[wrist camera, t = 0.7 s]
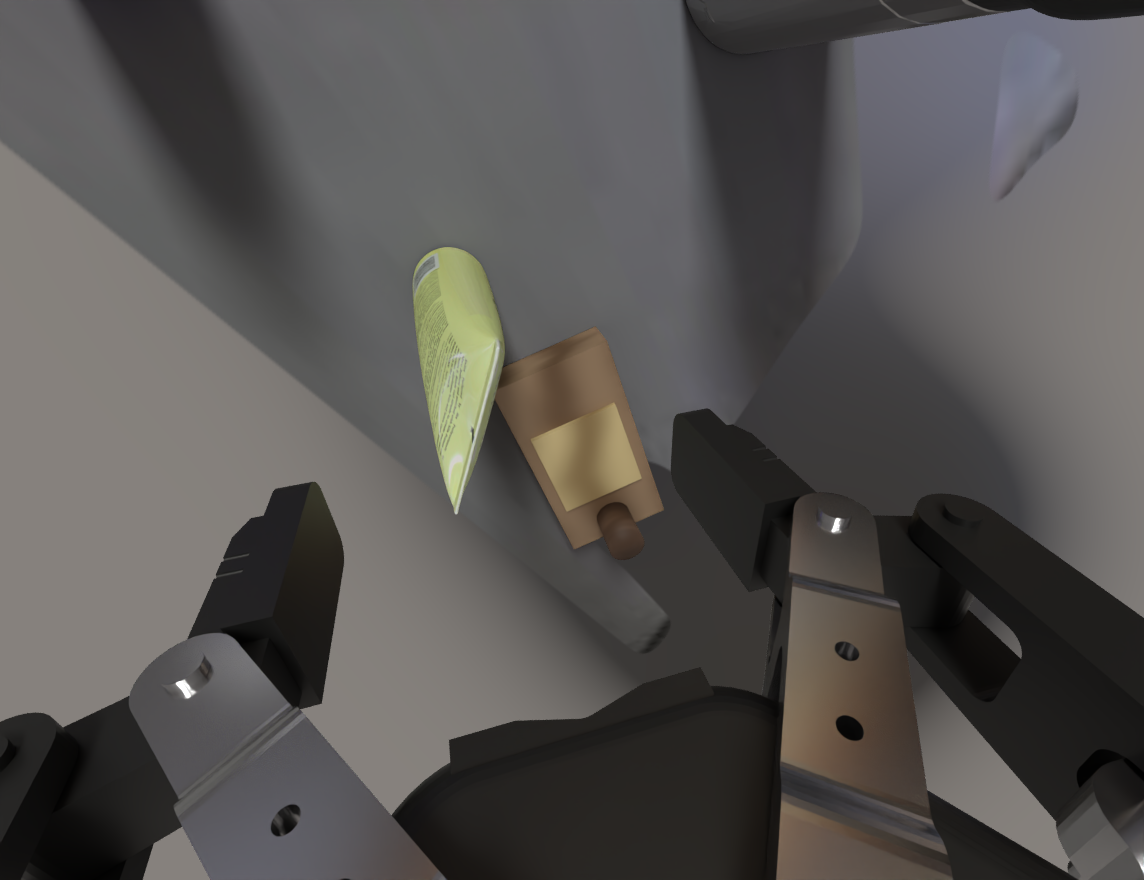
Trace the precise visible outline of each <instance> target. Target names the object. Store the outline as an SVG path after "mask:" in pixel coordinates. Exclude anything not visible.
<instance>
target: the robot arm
mask: <svg viewBox="0 0 1144 880" xmlns="http://www.w3.org/2000/svg"><path fill="white" fill-rule="evenodd" d="M686 3H687V6H688V9H689V11H690V13H691V15H692V17H693V20H694V22H695V24H696V25H697V26H698V28H699V29H700V31H701V32H702V33H703V35H704V36H705V37H706V38H707V39H708V40H709V41H711V42H712V43H713V44H714V45H716V46H717V47H718V48H721V49H723V50H725V51H728V52H730V53H737V54H751V53H758V52H764V51H771V50H777V49H785V48H792V47H799V46H805V45H811V44H817V43H823V42H829V41H835V40H842V39H848V38H854V37H860V36H866V35H872V34H878V33H885V32H890V31H897V30H903V29H909V28H915V27H922V26H928V25H934V24H939V23H943V22H949V21H955V20H962V19H968V18H974V17H980V16H986V15H992V14H998V13H1004V12H1010V11H1015V10H1021V9H1028V8H1032V9H1034V10H1036V11H1038V12H1040V13H1042V14H1045V15H1048V16H1051V17H1056V18H1060V19H1069V20H1098V19H1109V18H1110V19H1111V18H1121V17H1130V16H1141V15H1144V0H686ZM671 475H672V480H673V483H674V486H675V489H676V491H677V493H678V494H679V495H680V497H681V498H682V500H683V501H684V502H685V504H686V505H687V507H688V508H689V509H690V511H691V512H692V514H693V515H694V516H695V518H696V519H697V520H698V522H699V523H700V525H701V526H702V528H703V529H704V530H705V532H706V533H707V534H708V536H709V537H710V539H711V540H712V541H713V543H714V544H715V546H716V547H717V548H718V550H719V551H720V553H721V554H722V555H723V557H724V558H725V560H726V561H727V562H728V564H729V565H730V566H731V568H732V569H733V571H734V572H735V573H736V575H737V576H738V578H739V579H740V580H741V582H742V583H743V585H744V586H745V587H746V589H747V590H748V591H749V592H751V591H754V590H758V589H762V588H766V587H769V588H770V589H771V590H772V592H773V593H774V598H773V603H772V610H771V620H770V630H769V638H768V647H767V657H766V666H765V675H764V683H763V690H762V695H758V694H756V693H752V692H749V691H746V690H741V689H737V688H732V687H722V686H710V685H709V683H708V681H707V679H706V677H705V675H704V673H703V671H702V670H701V668H700V667H699V668H696V669H692V670H689V671H685V672H682V673H678V674H675V675H672V676H668V677H665V678H661V679H658V680H654V681H651V682H648V683H644V684H642V685H640V686H639V687H637V688H635V689H634V690H632V691H630V692H629V693H627V694H625V695H624V696H622V697H621V698H619V699H617V700H616V701H614V702H612V703H611V704H609V705H608V706H606V707H604V708H602V709H601V710H599V711H598V712H596V713H594V714H593V715H591V716H589V717H586V718H583V719H565V720H564V719H563V720H528V721H513V722H510V723H506V724H503V725H499V726H496V727H493V728H489V729H485V730H482V731H479V732H475V733H472V734H468V735H465V736H461V737H458V738H454V739H451V740H449V746H450V763H449V764H447V765H445V766H444V767H442V768H441V769H439V770H438V771H437V772H435V773H434V774H432V775H431V776H430V777H429V778H427V779H426V780H424V781H423V782H422V783H421V784H420V785H419V786H418V787H417V788H416V789H415V790H414V791H413V792H411V793H410V794H409V795H408V796H407V798H406V799H405V800H404V801H403V802H402V803H401V804H400V806H399V807H398V808H397V809H396V810H395V812H394V813H393V814H392V815H391V814H390V813H389V812H388V811H387V810H386V809H385V807H384V806H383V805H382V804H381V803H380V802H379V801H378V799H377V798H376V797H375V796H374V795H373V793H372V792H371V791H370V790H369V789H368V788H367V787H366V785H365V784H364V783H363V782H362V781H361V780H360V778H359V777H358V776H357V775H356V774H355V773H354V771H353V770H352V769H351V768H350V767H349V766H348V764H347V763H346V762H345V761H344V760H343V759H342V758H341V756H340V755H339V754H338V753H337V752H336V751H335V749H334V748H333V747H332V746H331V745H330V743H329V742H328V741H327V740H326V739H325V738H324V737H323V735H322V734H321V733H320V732H319V731H318V730H317V728H316V727H315V726H314V725H313V724H312V723H311V722H310V720H309V719H308V718H307V717H306V716H305V714H303V712H302V711H301V710H300V709H303V708H307V707H311V706H314V705H318V704H321V703H322V698H323V692H324V685H325V679H326V672H327V667H328V660H329V653H330V647H331V642H332V635H333V628H334V623H335V616H336V610H337V604H338V597H339V592H340V585H341V579H342V573H343V566H344V552H343V546H342V541H341V538H340V535H339V533H338V530H337V528H336V525H335V523H334V520H333V518H332V516H331V513H330V510H329V508H328V505H327V503H326V500H325V498H324V496H323V493H322V491H321V488H320V487H319V485H318V484H317V483H316V482H310V483H304V484H299V485H293V486H288V487H283V488H278V489H275V490H274V491H273V493H272V496H271V498H270V501H269V503H268V506H267V509H266V512H265V514H264V516H260V517H255V518H251V519H250V520H249V521H248V522H247V523H246V524H245V525H244V526H243V527H242V528H241V529H240V530H239V531H238V532H237V533H236V534H235V535H234V536H233V537H232V539H231V541H230V544H229V546H228V548H227V551H226V553H225V555H224V557H223V558H224V561H223V562H221V564H220V566H219V569H218V571H217V573H216V577H217V578H216V579H214V580H213V582H212V584H211V587H210V589H209V591H208V593H207V596H206V598H205V600H204V603H203V605H202V607H201V609H200V612H199V614H198V616H197V618H196V621H195V623H194V625H193V627H192V630H191V632H190V634H189V636H188V639H187V640H186V641H183V642H181V643H179V644H177V645H175V646H174V647H172V648H170V649H168V650H167V651H166V652H164V653H163V654H162V655H160V656H159V657H158V658H156V659H155V660H154V661H153V662H152V663H151V664H150V665H149V666H148V667H147V668H146V669H145V670H144V671H143V672H142V673H141V675H140V676H139V677H138V679H137V680H136V682H135V684H134V685H133V688H132V690H131V692H130V696H128V697H126V698H124V699H122V700H120V701H118V702H116V703H114V704H112V705H110V706H107V707H105V708H103V709H101V710H99V711H97V712H95V713H93V714H91V715H89V716H86V717H84V718H82V719H80V720H78V721H76V722H74V723H71V724H70V725H67V726H65V727H62V726H61V725H59V724H58V723H57V722H56V721H55V720H54V719H53V718H52V717H50V716H49V715H46V714H44V713H27V714H23V715H18V716H15V717H12V718H9V719H6V720H4V721H1V722H0V880H143V876H144V873H145V870H146V867H147V863H148V860H149V857H150V854H151V850H152V847H153V844H154V843H155V842H157V841H159V840H160V839H162V838H164V837H165V836H167V835H169V834H170V833H172V832H174V831H175V830H177V829H179V828H181V827H183V829H184V831H185V833H186V835H187V837H188V838H189V840H190V842H191V844H192V846H193V848H194V850H195V852H196V853H197V855H198V857H199V859H200V861H201V863H202V865H203V867H204V869H205V871H206V872H207V874H208V876H209V878H210V880H1144V618H1143V617H1142V616H1140V615H1139V614H1137V613H1136V612H1135V611H1133V610H1132V609H1130V608H1129V607H1128V606H1126V605H1125V604H1123V603H1122V602H1121V601H1119V600H1118V599H1116V598H1115V597H1114V596H1112V595H1111V594H1110V593H1108V592H1107V591H1105V590H1104V589H1103V588H1101V587H1100V586H1098V585H1097V584H1096V583H1094V582H1093V581H1091V580H1090V579H1089V578H1087V577H1086V576H1084V575H1083V574H1081V573H1080V572H1079V571H1077V570H1076V569H1075V568H1073V567H1072V566H1070V565H1069V564H1068V563H1066V562H1065V561H1063V560H1062V559H1061V558H1059V557H1058V556H1056V555H1055V554H1054V553H1052V552H1051V551H1049V550H1048V549H1046V548H1045V547H1044V546H1042V545H1041V544H1040V543H1038V542H1037V541H1035V540H1034V539H1033V538H1031V537H1030V536H1028V535H1027V534H1025V533H1024V532H1023V531H1021V530H1020V529H1019V528H1017V527H1016V526H1014V525H1013V524H1012V523H1010V522H1009V521H1007V520H1006V519H1005V518H1003V517H1002V516H1000V515H999V514H998V513H996V512H995V511H993V510H992V509H990V508H989V507H987V506H985V505H983V504H981V503H979V502H977V501H974V500H972V499H969V498H966V497H962V496H957V495H951V494H931V495H927V496H925V497H923V498H921V499H920V500H919V501H918V503H917V505H916V508H915V510H914V513H913V515H912V516H874V515H872V514H871V513H870V512H869V510H867V509H866V508H865V507H864V506H862V505H861V504H860V503H858V502H856V501H854V500H852V499H850V498H848V497H845V496H842V495H838V494H834V493H823V492H819V493H817V492H815V491H814V490H813V489H812V488H811V487H810V486H809V485H808V484H807V483H806V482H804V481H803V480H802V479H801V478H800V477H799V476H798V475H797V474H796V473H795V472H793V471H792V470H791V469H790V468H789V467H788V466H787V465H786V464H785V463H784V462H782V461H781V460H780V459H777V456H776V455H775V454H774V453H773V452H771V451H770V450H769V449H766V447H765V445H764V444H763V443H762V442H760V441H759V440H758V439H757V438H756V437H755V436H754V435H753V434H752V433H749V432H747V431H745V430H743V429H741V428H739V427H737V426H734V425H726V424H725V423H724V422H723V421H722V420H721V419H719V418H718V417H717V416H716V415H715V414H714V413H713V412H712V411H711V410H710V409H701V410H696V411H691V412H685V413H680V414H677V415H676V416H675V418H674V422H673V438H672V456H671ZM975 597H976V598H977V599H978V600H979V601H981V602H982V603H983V604H984V605H985V606H986V607H987V608H988V609H989V610H990V611H991V612H993V613H994V614H995V615H996V616H997V617H998V618H999V619H1000V620H1001V621H1003V622H1004V623H1005V624H1006V625H1007V626H1008V627H1009V628H1010V629H1011V630H1012V631H1013V632H1014V634H1015V635H1016V637H1017V638H1018V640H1019V642H1020V645H1021V649H1022V658H1021V659H1020V658H1019V657H1018V656H1017V655H1016V654H1015V653H1014V652H1013V651H1012V650H1011V649H1010V648H1009V647H1008V646H1006V645H1005V644H1004V643H1003V642H1002V641H1001V640H1000V639H999V638H998V637H997V636H996V635H995V634H993V632H992V631H990V629H988V628H987V627H986V626H985V625H984V624H983V623H982V622H981V621H980V620H979V619H978V618H977V617H976V616H975V615H974V614H973V613H971V612H970V611H969V610H968V609H969V607H970V605H971V603H972V601H973V600H974V598H975ZM906 648H907V649H906ZM907 650H908V651H909V652H910V653H911V654H912V655H913V656H914V657H915V659H916V660H917V661H918V662H919V664H920V665H921V666H922V667H923V668H924V669H925V670H926V672H927V673H928V674H929V675H930V676H931V677H932V678H933V680H934V681H935V682H936V683H937V684H938V685H939V687H940V688H941V689H942V690H943V691H944V692H945V694H946V695H947V696H948V697H949V698H950V699H951V701H952V702H953V703H954V704H955V705H956V706H957V707H958V709H959V710H960V711H961V712H962V713H963V714H964V715H965V717H966V718H967V719H968V720H969V721H970V722H971V724H972V725H973V726H974V727H975V728H976V729H977V731H979V733H980V734H981V735H982V736H983V737H984V738H985V740H986V741H987V742H988V743H989V744H990V745H991V747H992V748H993V749H994V750H995V751H996V753H997V754H998V755H999V756H1000V757H1001V758H1002V759H1003V761H1004V762H1005V763H1006V764H1007V765H1008V766H1009V768H1010V769H1011V770H1012V771H1013V772H1014V773H1015V774H1016V776H1017V777H1018V778H1019V779H1020V780H1021V781H1022V782H1023V784H1024V785H1025V786H1026V787H1027V788H1028V789H1029V791H1030V792H1031V793H1032V794H1033V795H1034V796H1035V797H1036V799H1037V800H1038V801H1039V802H1040V803H1041V805H1042V806H1043V807H1044V808H1045V809H1046V810H1047V811H1048V813H1049V814H1050V815H1051V816H1052V817H1053V818H1054V820H1055V821H1056V829H1057V833H1058V837H1059V840H1060V842H1061V844H1062V847H1063V849H1064V850H1065V852H1066V854H1067V856H1068V858H1069V859H1070V861H1069V863H1068V873H1069V874H1068V873H1067V872H1065V871H1063V870H1062V869H1060V868H1058V867H1056V866H1055V865H1053V864H1051V863H1050V862H1048V861H1046V860H1045V859H1043V858H1041V857H1039V856H1038V855H1036V854H1034V853H1032V852H1031V851H1029V850H1028V849H1026V848H1024V847H1022V846H1021V845H1019V844H1017V843H1016V842H1014V841H1012V840H1010V839H1009V838H1007V837H1005V836H1004V835H1002V834H1000V833H999V832H997V831H995V830H994V829H992V828H990V827H989V826H987V825H985V824H984V823H982V822H980V821H978V820H977V819H975V818H973V817H972V816H970V815H968V814H967V813H965V812H963V811H961V810H960V809H958V808H956V807H955V806H953V805H951V804H950V803H948V802H946V801H944V800H943V799H941V798H940V797H938V796H936V795H934V794H933V793H931V792H929V791H928V790H927V786H926V779H925V772H924V766H923V758H922V751H921V745H920V738H919V731H918V724H917V717H916V711H915V704H914V697H913V691H912V683H911V677H910V670H909V663H908V656H907Z"/></svg>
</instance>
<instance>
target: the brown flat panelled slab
mask: <svg viewBox="0 0 1144 880" xmlns="http://www.w3.org/2000/svg"><path fill="white" fill-rule="evenodd" d="M494 399H495V401H496V402H497V404H498V406H499V408H500V410H501V412H502V414H503V416H504V418H505V419H506V421H507V423H508V425H509V427H510V429H511V431H512V433H513V435H514V437H515V438H516V440H517V442H518V444H519V446H520V448H521V450H522V452H523V454H524V456H525V457H526V459H527V461H528V463H529V465H530V467H531V469H532V471H533V473H534V474H535V476H536V478H537V480H538V482H539V484H540V486H541V488H542V490H543V492H544V493H545V495H546V497H547V499H548V501H549V503H550V505H551V507H552V509H553V511H554V512H555V514H556V516H557V518H558V520H559V522H560V524H561V526H562V528H563V530H564V531H565V533H566V535H567V537H568V539H569V541H570V543H571V545H572V547H573V548H574V549H577V548H579V547H581V546H583V545H586V544H588V543H590V542H592V541H595V540H597V539H599V538H601V537H604V539H605V541H606V544H607V546H608V549H609V551H610V553H611V555H612V556H613V557H614V558H615V559H618V560H626V559H630V558H633V557H634V556H636V555H637V554H639V553H640V552H641V550H642V549H643V547H644V539H643V537H642V535H641V533H640V531H639V529H638V527H637V525H636V523H635V522H638V521H640V520H642V519H644V518H647V517H649V516H651V515H654V514H656V513H658V512H660V511H663V510H664V508H663V505H662V502H661V499H660V496H659V493H658V491H657V488H656V485H655V482H654V479H653V476H652V473H651V470H650V467H649V464H648V461H647V458H646V455H645V452H644V449H643V446H642V443H641V440H640V437H639V434H638V431H637V428H636V425H635V422H634V420H633V417H632V414H631V411H630V408H629V405H628V402H627V399H626V396H625V393H624V390H623V387H622V384H621V381H620V378H619V375H618V372H617V369H616V366H615V363H614V360H613V357H612V354H611V352H610V349H609V346H608V343H607V341H606V339H605V338H604V337H603V335H602V334H601V333H600V332H599V330H598V329H597V328H596V327H593V328H591V329H589V330H587V331H584V332H582V333H580V334H577V335H575V336H573V337H571V338H568V339H566V340H564V341H562V342H559V343H557V344H555V345H553V346H550V347H548V348H546V349H544V350H541V351H539V352H537V353H534V354H532V355H530V356H528V357H525V358H523V359H521V360H519V361H516V362H514V363H512V364H510V365H507V366H505V367H503V368H502V372H501V376H500V380H499V383H498V387H497V391H496V395H495V398H494Z"/></svg>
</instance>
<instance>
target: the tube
mask: <svg viewBox="0 0 1144 880" xmlns="http://www.w3.org/2000/svg"><path fill="white" fill-rule="evenodd" d="M413 301H414V316H415V326H416V335H417V343H418V351H419V357H420V364H421V370H422V376H423V382H424V388H425V393H426V399H427V404H428V409H429V414H430V419H431V424H432V429H433V434H434V439H435V445H436V449H437V453H438V457H439V461H440V465H441V469H442V473H443V477H444V481H445V484H446V488H447V491H448V494H449V497H450V499H451V502H452V505H453V506H454V512H455V514H456V515H457V514H458V511H459V506H460V502H461V498H462V495H463V492H464V490H465V488H466V486H467V484H468V482H469V479H470V477H471V474H472V472H473V469H474V466H475V464H476V461H477V458H478V455H479V452H480V449H481V445H482V442H483V438H484V435H485V431H486V428H487V424H488V420H489V417H490V413H491V410H492V406H493V402H494V398H495V395H496V391H497V387H498V383H499V380H500V376H501V372H502V367H503V362H504V355H505V345H504V337H503V332H502V326H501V321H500V318H499V314H498V311H497V307H496V304H495V301H494V297H493V294H492V291H491V288H490V285H489V282H488V279H487V276H486V274H485V271H484V269H483V267H482V266H481V264H480V263H479V262H478V261H477V260H476V258H475V257H473V256H472V255H471V254H469V253H467V252H466V251H463V250H461V249H458V248H451V247H445V248H439V249H436V250H433V251H431V252H429V253H428V254H427V255H425V256H424V257H423V258H422V259H421V260H420V262H419V263H418V265H417V267H416V269H415V272H414V275H413Z"/></svg>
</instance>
